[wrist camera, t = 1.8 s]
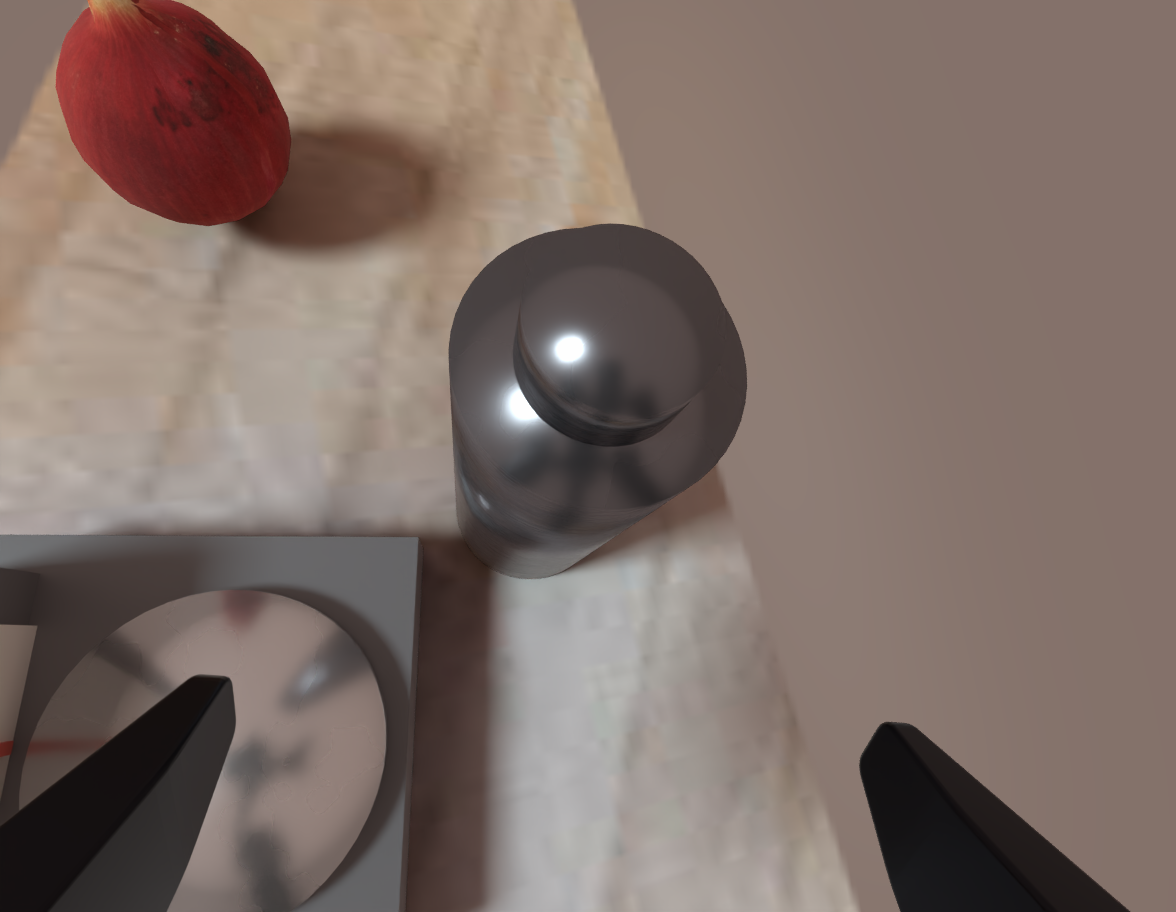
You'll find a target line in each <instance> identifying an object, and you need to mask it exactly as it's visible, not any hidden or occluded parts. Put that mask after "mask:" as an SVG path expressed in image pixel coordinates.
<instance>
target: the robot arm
mask: <svg viewBox="0 0 1176 912" xmlns="http://www.w3.org/2000/svg"><path fill="white" fill-rule="evenodd" d="M235 728H236V712H235V703H234V693H233V685H232V681H231V679H230V678H229V677H227V676H220V675H206V674H198V675H194V676H192V677H190V678H189V679H187V680H186V681H184V682H183V683H182V684H181V685H179V686H178V687H177V688H176V689H174V690H173V691H172V692H170V693H169V694H168V695H167V696H165V697H164V698H163V699H161V700H160V701H159V702H158V703H156V704H155V705H154V706H152V707H151V708H150V709H149V710H147V711H146V712H145V713H143V714H142V715H141V716H140V717H138V718H137V719H136V720H135V721H133V722H132V723H131V724H129V725H128V726H127V727H126V728H124V729H123V730H122V731H120V732H119V733H118V734H117V735H115V736H114V737H113V738H111V739H110V740H109V741H108V742H106V743H105V744H104V745H102V746H101V747H100V748H99V749H97V750H96V751H95V752H94V753H92V754H91V755H90V756H88V757H87V758H86V759H85V760H83V761H82V762H81V763H79V764H78V765H77V766H76V767H74V768H73V769H72V770H70V771H69V772H68V773H67V774H65V775H64V776H63V777H62V778H60V779H59V780H58V781H56V782H55V783H54V784H53V785H51V786H50V787H49V788H47V789H46V790H45V791H44V792H42V793H41V794H40V795H38V796H37V797H36V798H35V799H33V800H32V801H31V802H29V803H28V804H27V805H26V806H24V807H23V808H22V809H21V810H19V811H18V812H17V813H15V814H14V815H13V816H12V817H10V818H9V819H8V820H6V821H5V822H4V823H3V824H1V825H0V912H167V910H168V908H169V906H170V904H171V902H172V900H173V897H174V895H175V893H176V891H177V889H178V887H179V884H180V882H181V880H182V878H183V875H184V873H185V871H186V868H187V866H188V863H189V861H190V858H191V855H192V853H193V850H194V847H195V845H196V842H197V839H198V836H199V833H200V830H201V828H202V825H203V822H204V819H205V816H206V813H207V811H208V808H209V805H210V802H211V799H212V797H213V794H214V791H215V788H216V785H217V782H218V780H219V777H220V774H221V771H222V768H223V765H224V763H225V760H226V757H227V754H228V751H229V748H230V746H231V743H232V740H233V737H234V733H235ZM859 766H860V775H861V779H862V782H863V786H864V790H865V793H866V797H867V800H868V804H869V808H870V811H871V815H872V819H873V822H874V826H875V830H876V833H877V837H878V841H879V845H880V848H881V852H882V856H883V859H884V863H885V866H886V870H887V873H888V876H889V879H890V883H891V886H892V889H893V892H894V895H895V898H896V901H897V903H898V906H899V909H900V911H901V912H1130V911H1129V910H1128V909H1126V907H1124V906H1123V905H1122V904H1121V903H1120V902H1119V901H1117V900H1116V899H1115V898H1114V897H1112V896H1111V895H1110V894H1109V893H1108V892H1107V891H1106V890H1105V889H1103V888H1102V887H1101V886H1100V885H1099V884H1098V883H1096V882H1095V881H1094V880H1093V879H1092V878H1091V877H1089V876H1088V875H1087V874H1086V873H1085V872H1084V871H1082V870H1081V869H1080V868H1079V867H1078V866H1077V865H1075V864H1074V863H1073V862H1072V861H1070V859H1068V858H1067V857H1066V856H1065V855H1064V854H1062V853H1061V852H1060V851H1059V850H1058V849H1057V848H1056V847H1055V846H1053V845H1052V844H1051V843H1050V842H1049V841H1048V840H1046V839H1045V838H1044V837H1043V836H1042V835H1041V834H1039V833H1038V832H1037V831H1036V830H1035V829H1034V828H1032V827H1031V826H1030V825H1029V824H1028V823H1026V822H1025V821H1024V820H1023V819H1022V818H1021V817H1020V816H1018V815H1017V814H1016V813H1015V812H1014V811H1013V810H1011V809H1010V808H1009V807H1008V806H1007V805H1005V804H1004V803H1003V802H1002V801H1001V800H1000V799H999V798H997V797H996V796H995V795H994V794H993V793H992V792H990V791H989V790H988V789H987V788H986V787H984V786H983V785H982V784H981V783H980V782H979V781H978V780H976V779H975V778H974V777H973V776H972V775H971V774H969V773H968V772H967V771H966V770H965V769H964V768H962V767H961V766H960V765H959V764H958V763H956V762H955V761H954V760H953V759H952V758H951V757H950V756H948V755H947V754H946V753H945V752H944V751H943V750H941V749H940V748H939V747H938V746H937V745H935V744H934V743H933V742H932V741H931V740H930V739H929V738H928V737H926V736H925V735H924V734H923V733H922V732H921V731H919V730H918V729H917V728H916V727H914V726H912V725H910V724H907V723H897V722H884V723H882V724H881V725H880V726H879V727H878V728H877V730H876V732H875V733H874V735H873V736H872V738H871V740H870V741H869V743H868V745H867V746H866V748H865V750H864V751H863V753H862V755H861V758H860V765H859Z"/></svg>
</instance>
